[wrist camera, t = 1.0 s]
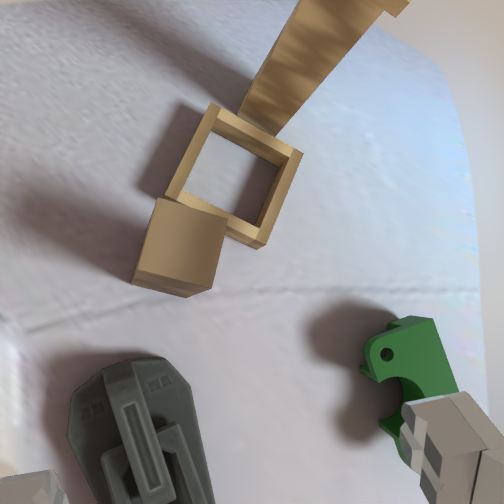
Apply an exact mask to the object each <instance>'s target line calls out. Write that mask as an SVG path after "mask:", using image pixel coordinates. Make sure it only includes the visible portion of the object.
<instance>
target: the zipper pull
mask: <svg viewBox="0 0 504 504" xmlns="http://www.w3.org/2000/svg"><path fill="white" fill-rule="evenodd" d="M67 439H68V441H69V443H70V446H71V448H72V450H73V452H74V454H75V456H76V458H77V460H78V462H79V464H80V466H81V469H82V471H83V473H84V475H85V477H86V479H87V481H88V483H89V486H90V488H91V490H92V492H93V494H94V497H95V499H96V501H97V503H98V504H215V499H214V495H213V490H212V485H211V481H210V476H209V472H208V467H207V462H206V458H205V453H204V449H203V444H202V439H201V435H200V430H199V426H198V421H197V416H196V411H195V406H194V401H193V396H192V391H191V387H190V385H189V383H188V382H187V381H186V380H185V379H184V378H183V377H182V376H181V374H180V373H179V372H178V371H177V370H176V369H175V368H174V367H173V366H172V364H171V363H170V362H169V361H168V360H166V359H165V358H162V357H159V358H135V359H128V360H125V361H123V362H120V363H117V364H115V365H112V366H110V367H107V368H104V369H102V370H101V371H100V372H98V373H97V374H96V375H95V376H93V377H92V378H91V379H90V380H88V381H87V382H86V383H84V384H83V385H82V386H81V387H79V388H78V389H77V390H76V391H75V392H74V393H73V395H72V397H71V401H70V410H69V419H68V428H67Z"/></svg>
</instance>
